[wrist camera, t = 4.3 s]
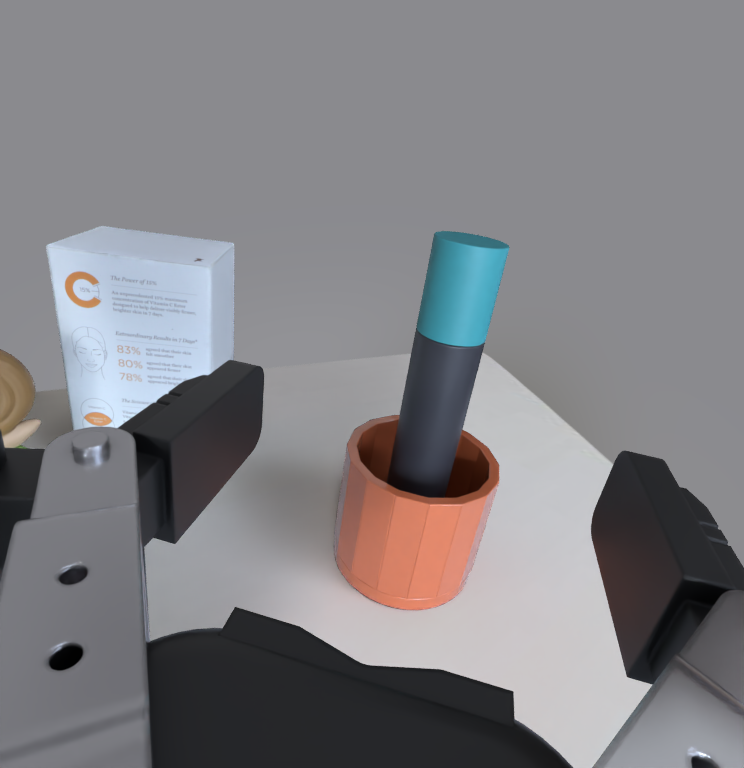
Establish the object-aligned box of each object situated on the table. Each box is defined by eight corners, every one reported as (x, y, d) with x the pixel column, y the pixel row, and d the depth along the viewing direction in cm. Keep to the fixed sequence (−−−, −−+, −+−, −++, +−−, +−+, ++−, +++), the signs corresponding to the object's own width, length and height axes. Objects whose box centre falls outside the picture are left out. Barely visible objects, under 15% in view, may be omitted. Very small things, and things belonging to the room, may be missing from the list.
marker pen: (370, 553, 26) (430, 237, 19) (382, 516, 28) (438, 228, 21) (427, 569, 25) (510, 252, 18) (434, 530, 28) (508, 240, 21)
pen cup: (314, 585, 24) (328, 478, 22) (353, 494, 31) (367, 403, 28) (464, 629, 23) (499, 523, 20) (471, 525, 30) (499, 434, 27)
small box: (233, 422, 36) (238, 241, 31) (212, 476, 31) (212, 265, 25) (117, 411, 35) (100, 222, 30) (73, 463, 30) (41, 243, 24)
